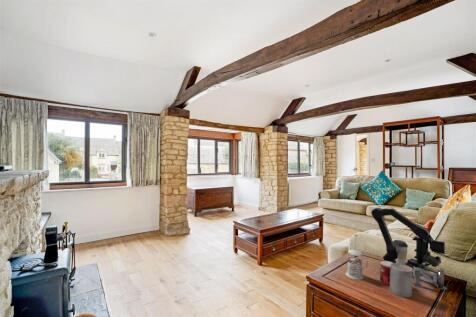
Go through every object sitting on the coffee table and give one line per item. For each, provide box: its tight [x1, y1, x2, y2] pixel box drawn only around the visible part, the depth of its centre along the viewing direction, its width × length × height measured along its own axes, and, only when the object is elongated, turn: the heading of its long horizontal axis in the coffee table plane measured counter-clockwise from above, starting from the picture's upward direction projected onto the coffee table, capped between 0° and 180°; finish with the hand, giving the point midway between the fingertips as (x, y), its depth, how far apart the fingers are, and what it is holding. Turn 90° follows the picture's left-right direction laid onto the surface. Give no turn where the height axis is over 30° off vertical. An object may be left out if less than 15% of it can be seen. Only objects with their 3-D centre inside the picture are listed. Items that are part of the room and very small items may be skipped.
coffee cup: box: [392, 239, 409, 265], centre depth 160 cm, size 9×9×15 cm
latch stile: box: [412, 269, 423, 288], centre depth 131 cm, size 4×3×8 cm
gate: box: [412, 266, 438, 285], centre depth 135 cm, size 11×1×6 cm, turn 37°
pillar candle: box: [389, 263, 413, 298], centre depth 123 cm, size 10×10×15 cm
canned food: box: [379, 260, 392, 287], centre depth 133 cm, size 8×8×11 cm
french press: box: [345, 233, 369, 280], centre depth 140 cm, size 10×12×25 cm
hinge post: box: [433, 268, 448, 291], centre depth 129 cm, size 4×4×11 cm
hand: (421, 274), depth 139 cm, fingers closed
